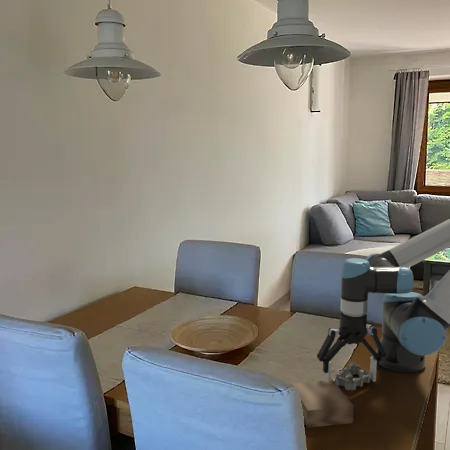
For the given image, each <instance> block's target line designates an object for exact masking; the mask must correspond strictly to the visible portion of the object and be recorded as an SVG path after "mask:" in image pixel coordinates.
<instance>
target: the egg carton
mask: <svg viewBox="0 0 450 450" xmlns="http://www.w3.org/2000/svg"><path fill="white" fill-rule="evenodd" d="M370 374H371V372H370V370H367V369H366V368H364V369H362V368H361V366H360V365H359V364H357V363H356V361H353V362H350V363H349V364H348V365H347V367H344V368H343V369H342V370H340V371H338V372H337V373H335V374H334V375H332V377H334V378H335V381H334V382H335V383H336V385H337V386H338V387H339V386H342V387H344V389H345V390H347V391H356V389H357V387H360V388H361V387H363V385H364V383H367V384H369V383H370V381H371V378H370ZM353 375H358V377H354V376H353Z"/></svg>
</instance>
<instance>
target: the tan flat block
mask: <svg viewBox="0 0 450 450" xmlns="http://www.w3.org/2000/svg"><path fill="white" fill-rule="evenodd" d="M291 385H293V386H294V387H296V389H297V390H298V392H299V394H300V397H301V403H302V409H303V416H304V421H303V422H305V423H304V424H305V426H306V427H307V428H308V429H309V428H310V429H312V428H318V427H319V428H320V427H326V426H327V427H328V426H336V425H337V426H338V425H345V424H353V423H354V410H355V409H354V407H355V406H354V404H353V403H352V402H351V400H349V398H348V397H347V396H346V394H344V392H343V391H342V390H341V388H340V387H339V386H338V385H336V382H335V381H334V379H331V380H327V381H326V380H318V381H307V382H296V383H291V384H290V386H291Z"/></svg>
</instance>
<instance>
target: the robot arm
mask: <svg viewBox="0 0 450 450" xmlns="http://www.w3.org/2000/svg"><path fill="white" fill-rule="evenodd" d="M449 248H450V218H449V219H447V220H445V221H443V222H441V223H438V224H437V225H435V226H433V227H431V228H429V229H426V231H423V232H422V233H419V234H417V235H415V236H413V237H412V238H411V237H410V238H409V239H408V240H406V241H403V242H402V243H399V244H398V245H395V246H394V247H392V248H390V249H388V250H385V251H384V252H382V253H371V254H370V255H368V256H367V257H366V258H365V259H364V258H357V257H352V258H351V257H350V258H347V259H345V260H344V261H343V262H342V268H341V273H340V274H341V281H340V283H341V286H340V289H341V290H340V309H339V310H340V313H339V328H338V329H335V328H333V327H329V328H328V331H327V332H328V334H327V336H326V338H325V340H324V342H323V343H322V346H321V347H320V349H319V351H318V353H317V355H316V358H317V359H318V360H319V362H320V363H321V362H322V371H323V373H325V378H324V379H325V380H324V381H327V380H332V367H333V366H332V365H333V364H332V362H331V361H332V360H333V359H334V358H335V356H336V355H337V354H338V352H340V350H341V349H342V348H343V347H345V346H347V345H353V344H354V345H359V344H360V343H362V344H363V346H364V347H365V348H366V350H368V351H369V353H371V355H372V356H370V358H369V360H370V363H369V365H370V366H369V371H370V372H371V374H370V381H371V382H377V381H376V380H377V370H378V371H379V369H380V367H382V368H384V369H385V370H388V371H392V372H398V373H406V374H407V373H417V372H420V371H422V370H424V369H425V367H426V357H425V356H430V355H433V354H435V353H437V352H438V351H439V350H441V349H442V348H443V346H444V344H445V342H446V332H447V330H449V328H450V269H449V270H448V271H447V272H446V273H445V274H444V276H442V278H441V279H440V280H439V281H438V282H437V283H436V284H435V286H433V288H432V289H431V290H430V291H429V292H428V293H427V294H426V295H422V294H421V293H418V292H413V291H412V290H413V288H414V274H413V270H412V269H411V268H410V267H413V266H415V265H416V264H418V263H421V262H422V261H425V260H427V259H428V258H431V257H432V256H434V255H437V254H439V253H440V252H443V251H445V250H447V249H449ZM369 294H384V295H383V300H382V319H381V321H382V323H381V324H382V325H381V337H380V339H379V337H378V330H377V328H376V327H375V326H374V325H370V326H369V327H367V323H368V322H367V320H368V314H367V313H368V305H369V304H368V302H369V300H368V299H369ZM367 334H368V335H369V336H370V337H371V339H372V341H373V344H374V345H375V347H376V350H375V349H374V348H373V347H372V346H371V344H370V343H369V342H368V341H367V340H366V338H365V337H366V336H367ZM338 335H339V336H338ZM337 336H338V338H337ZM336 338H337V339H336ZM335 339H336V341H335ZM334 341H335V342H334Z"/></svg>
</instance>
